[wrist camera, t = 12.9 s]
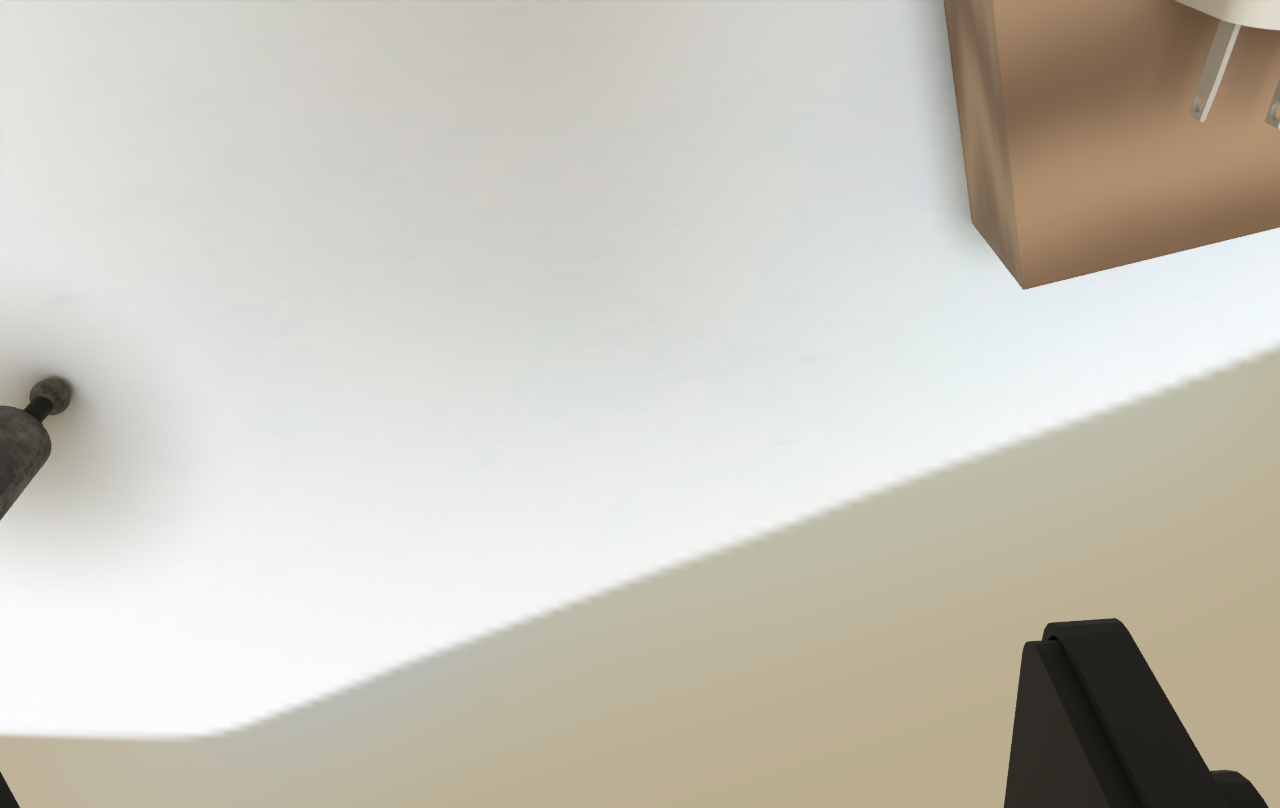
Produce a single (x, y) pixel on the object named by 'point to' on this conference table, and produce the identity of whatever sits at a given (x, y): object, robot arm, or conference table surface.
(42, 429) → the microphone
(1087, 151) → the walnut block
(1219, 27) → the usb wall charger
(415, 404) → the conference table surface
